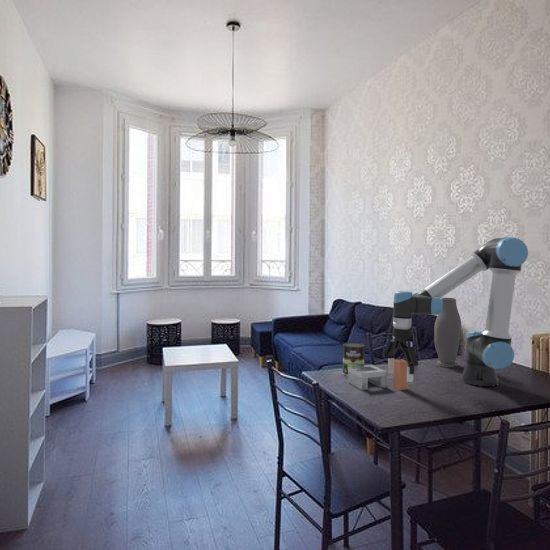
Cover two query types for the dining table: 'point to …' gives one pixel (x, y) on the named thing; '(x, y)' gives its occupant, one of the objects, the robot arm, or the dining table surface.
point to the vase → (447, 333)
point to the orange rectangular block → (400, 374)
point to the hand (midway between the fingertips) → (400, 377)
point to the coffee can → (352, 355)
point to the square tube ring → (366, 376)
